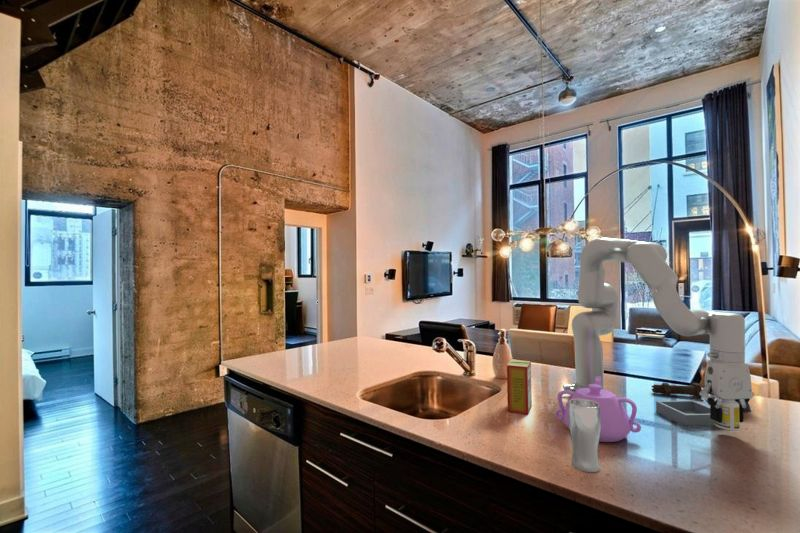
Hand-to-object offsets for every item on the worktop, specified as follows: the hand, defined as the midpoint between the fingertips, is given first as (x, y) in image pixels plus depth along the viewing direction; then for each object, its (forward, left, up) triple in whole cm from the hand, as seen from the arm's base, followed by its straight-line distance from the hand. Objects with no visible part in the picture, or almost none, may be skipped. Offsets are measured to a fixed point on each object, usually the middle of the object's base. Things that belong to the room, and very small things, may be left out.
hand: (726, 419), depth 106 cm
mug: (+22, +22, -4) cm, 32 cm away
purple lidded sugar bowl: (-35, +5, -4) cm, 35 cm away
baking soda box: (-51, +24, -4) cm, 56 cm away
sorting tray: (-1, +12, -4) cm, 13 cm away
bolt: (+12, +35, -5) cm, 37 cm away
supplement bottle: (0, 0, -2) cm, 2 cm away
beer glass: (-49, -15, -4) cm, 51 cm away
